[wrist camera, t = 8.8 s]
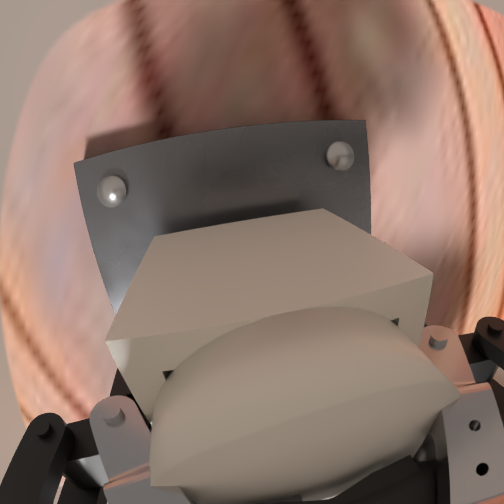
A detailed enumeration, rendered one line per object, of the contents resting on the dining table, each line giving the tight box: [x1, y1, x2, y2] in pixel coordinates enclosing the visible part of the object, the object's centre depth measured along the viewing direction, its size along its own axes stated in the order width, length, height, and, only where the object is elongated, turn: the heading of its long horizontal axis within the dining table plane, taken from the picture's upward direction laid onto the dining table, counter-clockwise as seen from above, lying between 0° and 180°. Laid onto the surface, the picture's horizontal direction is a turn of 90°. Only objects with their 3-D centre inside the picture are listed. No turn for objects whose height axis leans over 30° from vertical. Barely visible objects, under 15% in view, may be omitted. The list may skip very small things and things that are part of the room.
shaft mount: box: [74, 120, 371, 315], centre depth 10 cm, size 12×13×6 cm
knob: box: [105, 208, 461, 504], centre depth 7 cm, size 6×6×8 cm
